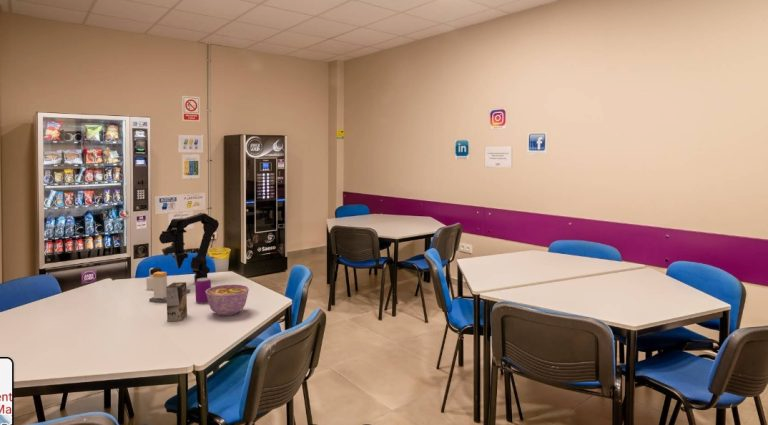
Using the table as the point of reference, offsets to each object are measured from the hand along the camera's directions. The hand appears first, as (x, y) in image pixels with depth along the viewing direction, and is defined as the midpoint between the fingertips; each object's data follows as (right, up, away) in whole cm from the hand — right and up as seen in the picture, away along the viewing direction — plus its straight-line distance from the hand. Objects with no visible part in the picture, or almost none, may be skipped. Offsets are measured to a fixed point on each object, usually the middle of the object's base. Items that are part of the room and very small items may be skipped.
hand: (179, 268), depth 275 cm
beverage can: (+22, -15, -22) cm, 35 cm away
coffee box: (+20, -18, -48) cm, 55 cm away
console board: (+1, -14, -14) cm, 20 cm away
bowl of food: (+40, -17, -40) cm, 59 cm away
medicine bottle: (-14, -12, +2) cm, 18 cm away
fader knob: (0, -13, -22) cm, 25 cm away
